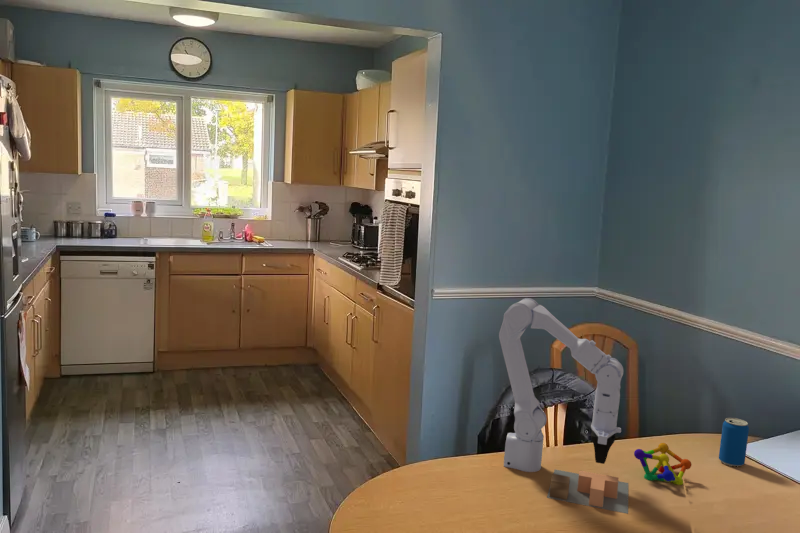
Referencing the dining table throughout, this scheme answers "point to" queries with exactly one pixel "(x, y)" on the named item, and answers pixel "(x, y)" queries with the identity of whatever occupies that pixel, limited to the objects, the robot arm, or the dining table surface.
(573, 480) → the board
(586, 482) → the t block
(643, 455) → the decorative model
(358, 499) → the dining table surface
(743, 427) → the beverage can
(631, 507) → the dining table surface
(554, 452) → the dining table surface
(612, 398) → the robot arm
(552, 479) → the walnut cube
